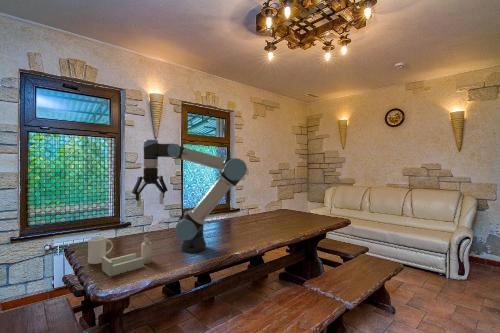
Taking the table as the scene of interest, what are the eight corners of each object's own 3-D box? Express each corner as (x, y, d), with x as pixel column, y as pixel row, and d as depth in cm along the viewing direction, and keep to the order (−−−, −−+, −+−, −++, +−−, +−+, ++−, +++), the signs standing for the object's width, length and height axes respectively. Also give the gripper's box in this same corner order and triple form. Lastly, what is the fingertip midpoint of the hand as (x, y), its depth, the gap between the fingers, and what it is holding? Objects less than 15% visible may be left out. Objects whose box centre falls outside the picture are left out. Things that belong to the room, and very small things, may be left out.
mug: (111, 255, 147) (111, 234, 147) (114, 260, 141) (114, 238, 140) (86, 260, 140) (87, 237, 140) (88, 265, 134) (88, 241, 133)
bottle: (148, 259, 143) (149, 233, 143) (153, 261, 140) (153, 234, 140) (139, 261, 139) (139, 234, 139) (143, 264, 136) (144, 236, 136)
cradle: (134, 261, 140) (134, 249, 140) (143, 266, 133) (143, 254, 133) (101, 270, 128) (101, 257, 128) (109, 276, 121) (110, 262, 121)
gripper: (166, 167, 160) (166, 202, 160) (125, 167, 141) (125, 207, 142) (173, 167, 155) (173, 203, 155) (131, 167, 136) (131, 208, 137)
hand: (150, 205), depth 148 cm, fingers open, 13 cm apart
